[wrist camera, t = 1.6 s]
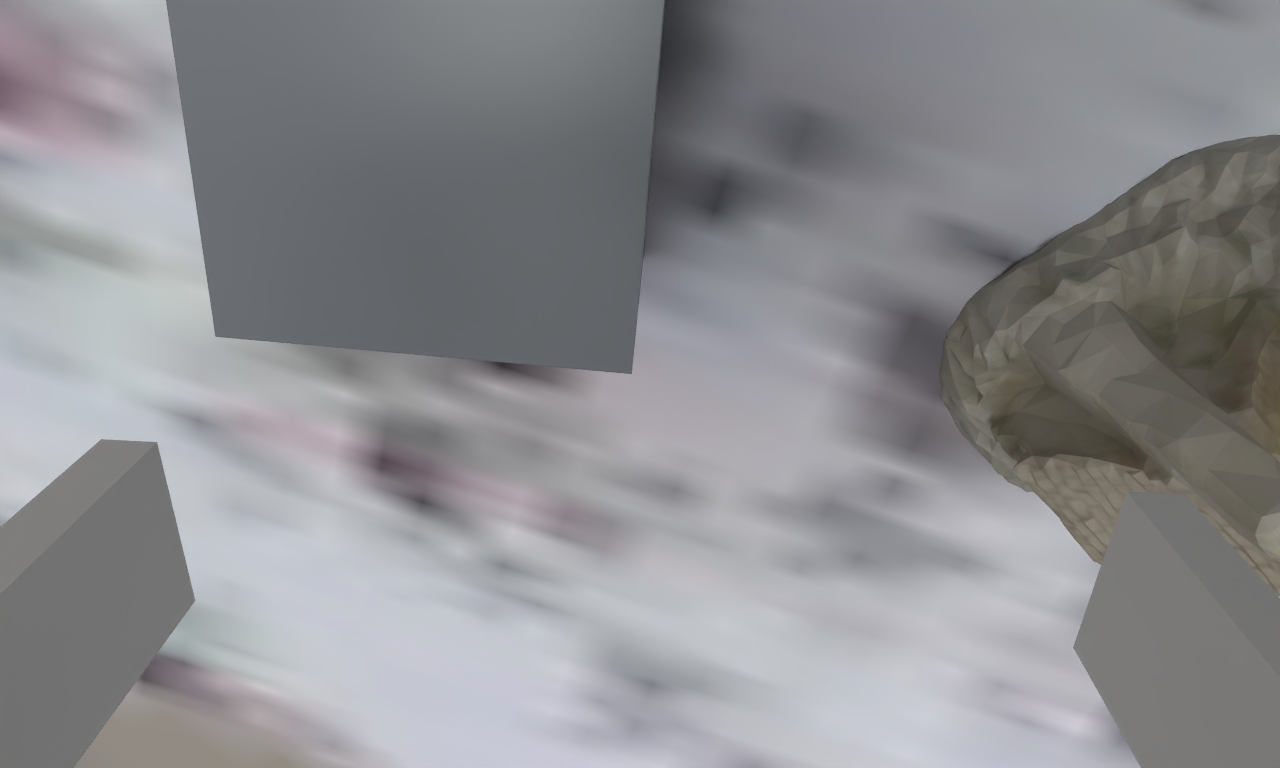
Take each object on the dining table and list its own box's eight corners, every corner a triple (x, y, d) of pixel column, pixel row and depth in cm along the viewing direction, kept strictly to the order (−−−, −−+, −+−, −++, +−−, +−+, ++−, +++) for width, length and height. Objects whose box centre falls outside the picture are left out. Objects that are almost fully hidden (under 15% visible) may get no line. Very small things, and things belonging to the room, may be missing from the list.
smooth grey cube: (312, -121, 25) (144, -149, 17) (673, -87, 25) (672, -100, 17) (338, 230, 29) (215, 336, 22) (642, 258, 29) (631, 373, 22)
